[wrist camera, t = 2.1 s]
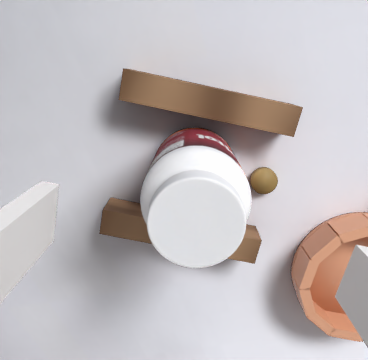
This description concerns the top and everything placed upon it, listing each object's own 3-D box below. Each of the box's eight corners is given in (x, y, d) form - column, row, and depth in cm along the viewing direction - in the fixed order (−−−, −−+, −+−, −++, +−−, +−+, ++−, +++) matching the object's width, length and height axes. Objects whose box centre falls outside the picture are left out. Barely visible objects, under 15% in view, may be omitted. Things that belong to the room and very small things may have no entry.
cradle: (107, 219, 28) (99, 233, 25) (129, 69, 24) (123, 68, 22) (254, 248, 28) (260, 264, 26) (298, 105, 25) (309, 108, 22)
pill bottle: (250, 170, 26) (291, 234, 16) (189, 217, 27) (189, 306, 17) (199, 107, 25) (206, 132, 14) (137, 160, 26) (102, 218, 15)
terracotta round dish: (276, 305, 30) (284, 327, 27) (313, 200, 27) (326, 214, 24) (385, 326, 30) (404, 349, 28) (434, 225, 27) (459, 241, 25)
